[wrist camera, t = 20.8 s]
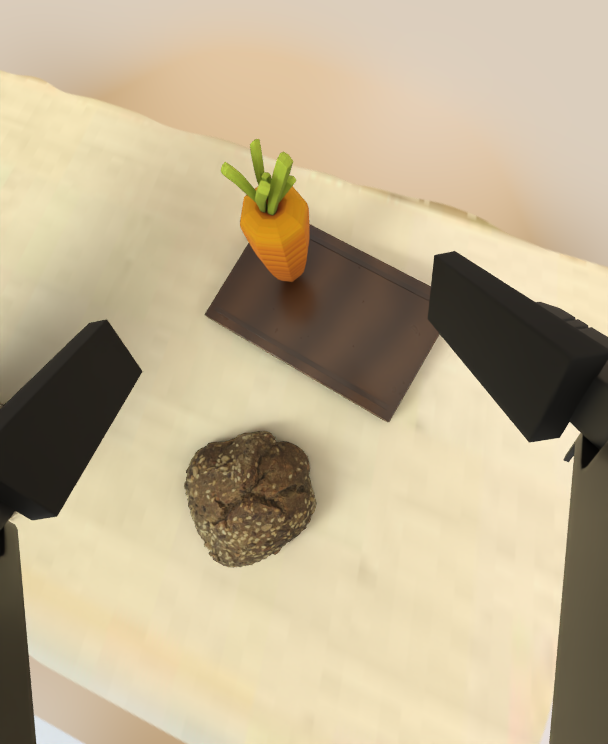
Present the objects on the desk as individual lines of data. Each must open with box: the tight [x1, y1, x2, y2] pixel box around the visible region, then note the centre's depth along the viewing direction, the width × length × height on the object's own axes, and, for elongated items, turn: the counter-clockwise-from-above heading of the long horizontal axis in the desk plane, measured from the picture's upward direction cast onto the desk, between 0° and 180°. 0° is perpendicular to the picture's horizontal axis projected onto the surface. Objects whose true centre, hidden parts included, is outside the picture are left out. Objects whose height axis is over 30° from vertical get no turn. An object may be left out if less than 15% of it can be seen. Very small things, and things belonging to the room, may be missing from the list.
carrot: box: [221, 139, 309, 282], centre depth 23 cm, size 5×5×15 cm
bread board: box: [205, 224, 439, 422], centre depth 30 cm, size 22×14×2 cm, turn 59°
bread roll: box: [184, 431, 317, 568], centre depth 27 cm, size 13×12×5 cm
